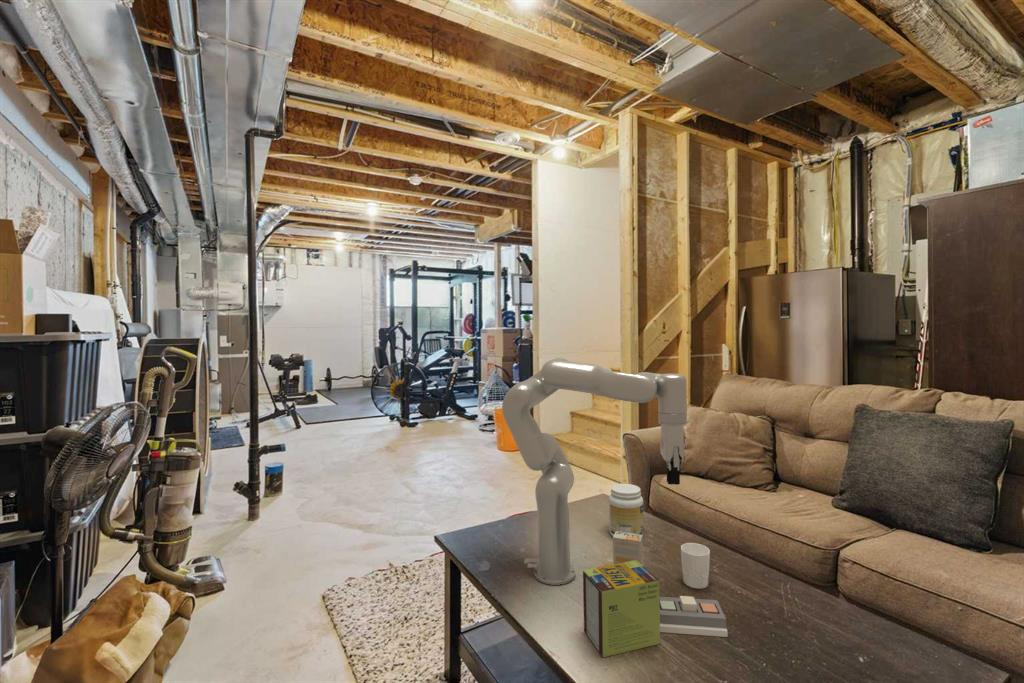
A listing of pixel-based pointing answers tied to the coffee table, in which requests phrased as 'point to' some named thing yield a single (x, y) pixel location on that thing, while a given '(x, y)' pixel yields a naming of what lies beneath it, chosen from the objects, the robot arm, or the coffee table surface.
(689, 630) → the keypad
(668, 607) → the key
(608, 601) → the protein box
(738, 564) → the coffee table surface
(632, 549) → the supplement box
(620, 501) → the supplement tub
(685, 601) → the key
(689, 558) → the white cup
